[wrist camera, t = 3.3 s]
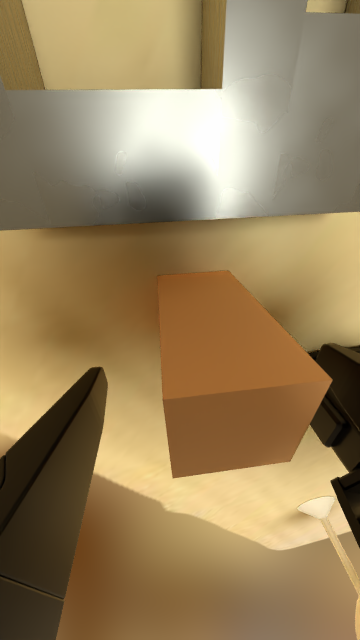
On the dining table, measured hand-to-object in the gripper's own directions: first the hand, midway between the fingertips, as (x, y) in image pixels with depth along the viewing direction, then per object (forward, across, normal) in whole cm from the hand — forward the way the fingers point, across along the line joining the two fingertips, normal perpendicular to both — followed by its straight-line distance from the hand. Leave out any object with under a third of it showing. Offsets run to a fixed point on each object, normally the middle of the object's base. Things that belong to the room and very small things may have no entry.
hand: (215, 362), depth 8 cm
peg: (+5, 0, 0) cm, 5 cm away
